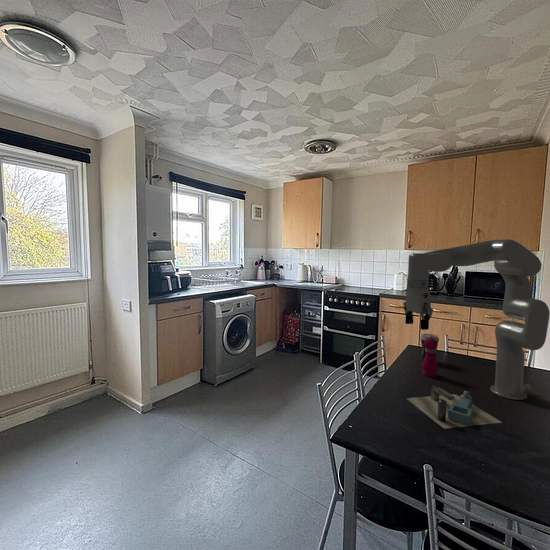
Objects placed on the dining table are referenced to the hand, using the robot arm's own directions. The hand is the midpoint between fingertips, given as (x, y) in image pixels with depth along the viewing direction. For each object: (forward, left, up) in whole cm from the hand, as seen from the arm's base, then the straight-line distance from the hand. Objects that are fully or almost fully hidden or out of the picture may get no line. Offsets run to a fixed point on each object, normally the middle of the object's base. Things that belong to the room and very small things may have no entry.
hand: (416, 326), depth 122 cm
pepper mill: (-25, -24, -31) cm, 47 cm away
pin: (0, +16, -30) cm, 34 cm away
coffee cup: (-37, -41, -31) cm, 64 cm away
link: (-12, +13, -30) cm, 34 cm away
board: (-8, +10, -31) cm, 34 cm away
